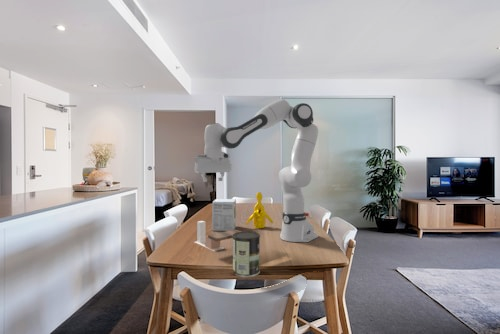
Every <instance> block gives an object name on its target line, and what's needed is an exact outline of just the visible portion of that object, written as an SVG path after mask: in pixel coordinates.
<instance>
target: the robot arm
mask: <svg viewBox="0 0 500 334" xmlns="http://www.w3.org/2000/svg"><path fill="white" fill-rule="evenodd" d="M282 121H283V122H284V123H285V124H286V125H287V127H289V128H291V129H296V130H297V135H296V137H295V141H294V143H293V147H292V149H291V153H290V156H291V161H290V162H291V163H290V165H289V166H288V165H287V166H285V167H283V168H281V169H279V170H280V171H279V172H278V180H279V182H280V184H281V185H280V186H281V191H282V197H283V201H282V202H283V206H282V207H283V211H282V222H281V229H280V231H281V232H280V234H279V236H280V237H279V239H281V240H282V241H285V242H292V243H308V242H311V241H313V240H315V239H317V238H319V234H318V233H316V232H315V227H314V225H313V223H311V222H310V221H309V220H307V217H310V213H309V212H305V197H304V195H303V192H302V188H305V187H307V186H308V185H310V183H311V181H312V174H311V161H312V157H313V153H314V151H315V148H316V144H317V140H318V136H319V129H318V126H317V125H315V124H314V111H313V109H312V107H311V106H310V105H309V104H308V103H297V104H296V105H294V106H291V104H290V103H289V102H288V101H287V100H285V99H279V100H278V99H277V100H275V101H273V102H270V103H269V104H266V105H264V106H263V107H261V108H260V110H258V111H257V112H256V113H255V115H254V116H253V117H252V118H251V119H249V120H247V121H246V122H244V123H242V124H240V125H238V126H231V127H225V126H223V125H221V124H220V123H218V122H216V123H215V122H213V123H210V124H209V123H208V125H206V127H205V128H204V129H205V130H204V135H203V136H204V140H203V141H204V144H205V145H204V150H203V151H204V154H197V155H196V156H194V168H193V169H194V170H193V171H194V173H197V174H200V176H201V178H202V182H203V183H206V182H208V178H207V177H206V174H209V173H210V174H211V173H213V174H214V173H215V174H216V173H219V175H220V176H219V177H218V182H223V181H224V180H223V179H224V176H225V173H230V172H231V160H230V157H231V155H230V154H229V153H226V152H225V151H222V149H223V148H225V149H227V150H230V149H231V150H232V149H235V148H237V147H239V146H240V145H241V143H242V142H243V140H244V139H245V138H246V137H248V136H250V135H252V134H253V133H254V132H257V131H259V130H263V129H264V130H267V129H269V128H271V127H273V126H274V127H275V125H276V124H277V125H278V124H279V123H280V122H282Z"/></svg>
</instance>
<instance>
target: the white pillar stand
mask: <svg viewBox="0 0 500 334" xmlns="http://www.w3.org/2000/svg"><path fill="white" fill-rule="evenodd" d="M196 222H197V223H196V225H197V226H196V228H197V229H196V238H197V239H196V241H193V244H194V245H195V244H197V245H200V246H202V247H203V248H206V249H208V250H210V251H212V252H216V251H220V250H225V247H223V246H220V247H218V248H214V249H210V248H207V247H205V236H207V235H206V234H207V233H206V230H207V229H206V228H207V227H206V226H207V225H206V221H204V220H199V221H196Z"/></svg>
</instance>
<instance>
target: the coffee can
mask: <svg viewBox="0 0 500 334" xmlns="http://www.w3.org/2000/svg"><path fill="white" fill-rule="evenodd" d="M260 239H261V234H259V233H258V232H255V231H242V232H237V233H234V234H233V238H232V270H233V271H234V272H233V275H234V276H236V277H238V278H252V277H257V276H258V275H260V273H261V271H260V270H261V269H260V257H261V256H260V247H261V245H260V243H261V242H260V241H261V240H260Z"/></svg>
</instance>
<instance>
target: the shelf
mask: <svg viewBox="0 0 500 334" xmlns="http://www.w3.org/2000/svg"><path fill="white" fill-rule="evenodd" d="M237 232H243V231H241V230H238V229H234V230H231V231H220V232H216V233H210V234H207V236H208V238H209V239H212V240H214V241H220V242H221V241H224V240H225V241H226V240H229V239H230V240H231V239H233V234H234V233H237Z"/></svg>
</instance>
